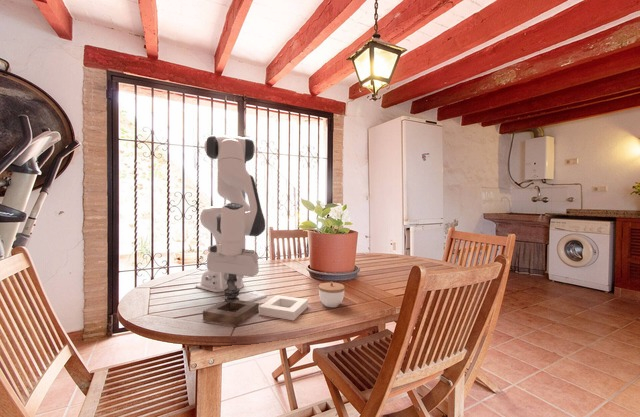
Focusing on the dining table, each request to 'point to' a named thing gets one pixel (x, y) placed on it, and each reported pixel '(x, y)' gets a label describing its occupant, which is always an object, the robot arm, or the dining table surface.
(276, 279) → the dining table surface
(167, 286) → the dining table surface
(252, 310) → the walnut holder
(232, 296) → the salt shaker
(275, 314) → the off-white holder
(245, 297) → the external hard drive
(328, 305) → the lidded jar
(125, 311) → the dining table surface
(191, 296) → the dining table surface
